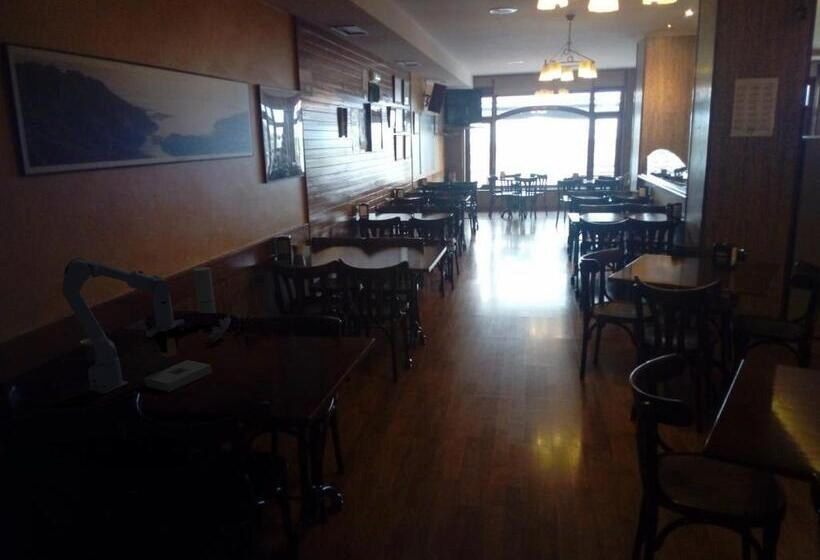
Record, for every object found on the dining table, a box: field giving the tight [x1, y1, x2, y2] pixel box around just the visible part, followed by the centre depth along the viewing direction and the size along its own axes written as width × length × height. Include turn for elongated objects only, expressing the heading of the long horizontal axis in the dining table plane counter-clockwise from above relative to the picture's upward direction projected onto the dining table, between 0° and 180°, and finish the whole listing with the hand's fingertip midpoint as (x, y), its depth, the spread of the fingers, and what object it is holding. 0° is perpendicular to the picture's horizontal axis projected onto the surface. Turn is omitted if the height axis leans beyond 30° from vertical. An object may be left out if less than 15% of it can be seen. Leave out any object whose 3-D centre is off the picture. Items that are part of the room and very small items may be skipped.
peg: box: [161, 336, 178, 358], centre depth 217 cm, size 4×4×6 cm
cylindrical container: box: [192, 266, 217, 314], centre depth 273 cm, size 7×7×25 cm
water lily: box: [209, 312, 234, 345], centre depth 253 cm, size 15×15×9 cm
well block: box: [143, 359, 213, 393], centre depth 212 cm, size 18×12×3 cm, turn 150°
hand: (169, 350), depth 217 cm, fingers closed on peg, 3 cm apart
